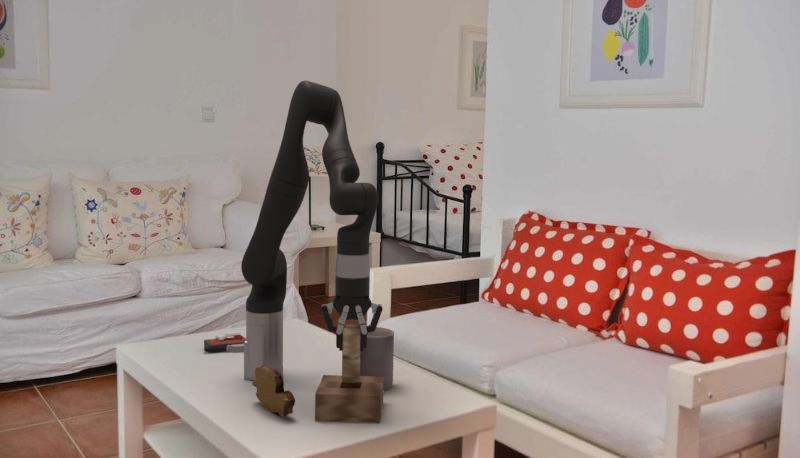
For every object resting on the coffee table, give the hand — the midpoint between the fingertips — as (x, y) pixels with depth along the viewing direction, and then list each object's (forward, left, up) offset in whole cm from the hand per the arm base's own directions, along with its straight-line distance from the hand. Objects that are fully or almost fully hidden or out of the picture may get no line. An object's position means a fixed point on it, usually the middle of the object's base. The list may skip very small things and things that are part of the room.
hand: (351, 349), depth 179 cm
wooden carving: (-17, -2, -14) cm, 22 cm away
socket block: (0, 0, -14) cm, 14 cm away
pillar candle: (+4, +19, -14) cm, 24 cm away
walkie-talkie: (-37, +50, -15) cm, 64 cm away
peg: (0, 0, -7) cm, 7 cm away
